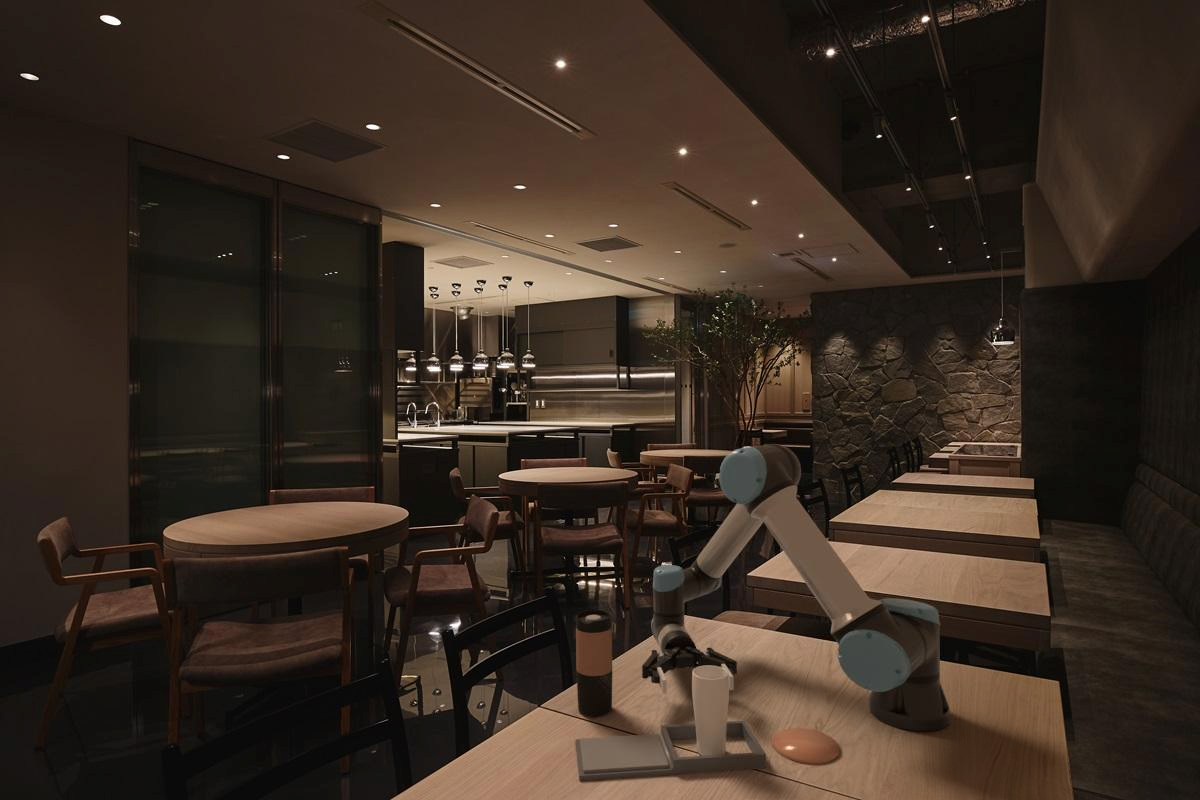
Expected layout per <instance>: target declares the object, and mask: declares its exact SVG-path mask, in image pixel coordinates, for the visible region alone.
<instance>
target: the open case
mask: <svg viewBox="0 0 1200 800" xmlns="http://www.w3.org/2000/svg"><path fill="white" fill-rule="evenodd" d="M739 736H742V738H743V739H744V741H745V743H746V744H747V746H748V748H749V749H750V751H751V752H741V753H740V752H739V753H728V754H727V753H725V754H723V755H707V756H701V755H697V756H696V755H695V756H694V755H693V756H691V755H690V756H680V757H679V756H677V753H676V751H675V748H674V745H673V743H672V741H674V740H675V741H676V740H692V739H697V738H696V727H695V723H682V724H681V723H680V724H664V725H660V732H659V733H653V734H652V733H651V734H650V733H649V734H637V735H635V734H634V735H633V734H632V735H621V736H620V735H617V736H616V735H615V736H603V737H600V736H599V737H587V738H586V737H585V738H576V739H575V740H574V743H575V744H574V745H575V753H577V754H576V762H577V771H578V780H580V781H590V780H589V779H595V780H608V779H609V780H610V779H621V778H623V779H624V778H625V779H626V778H638V777H654V776H668V775H682V774H683V775H685V774H698V773H715V772H729V771H730V772H731V771H743V770H744V771H746V770H757V769H760V770H762V769H763V770H764V769H767V753H766V752H765V750H764V749H763V748H762V746H761V744H760V742H759V741H758V739H757V738H756V736H755V735H754V733H753V732H752V729H751V728H750V727H749V725H748V724H747V722H746V720H732V721H730V720H729V721H728V720H727V732H726V737H739Z"/></svg>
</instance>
